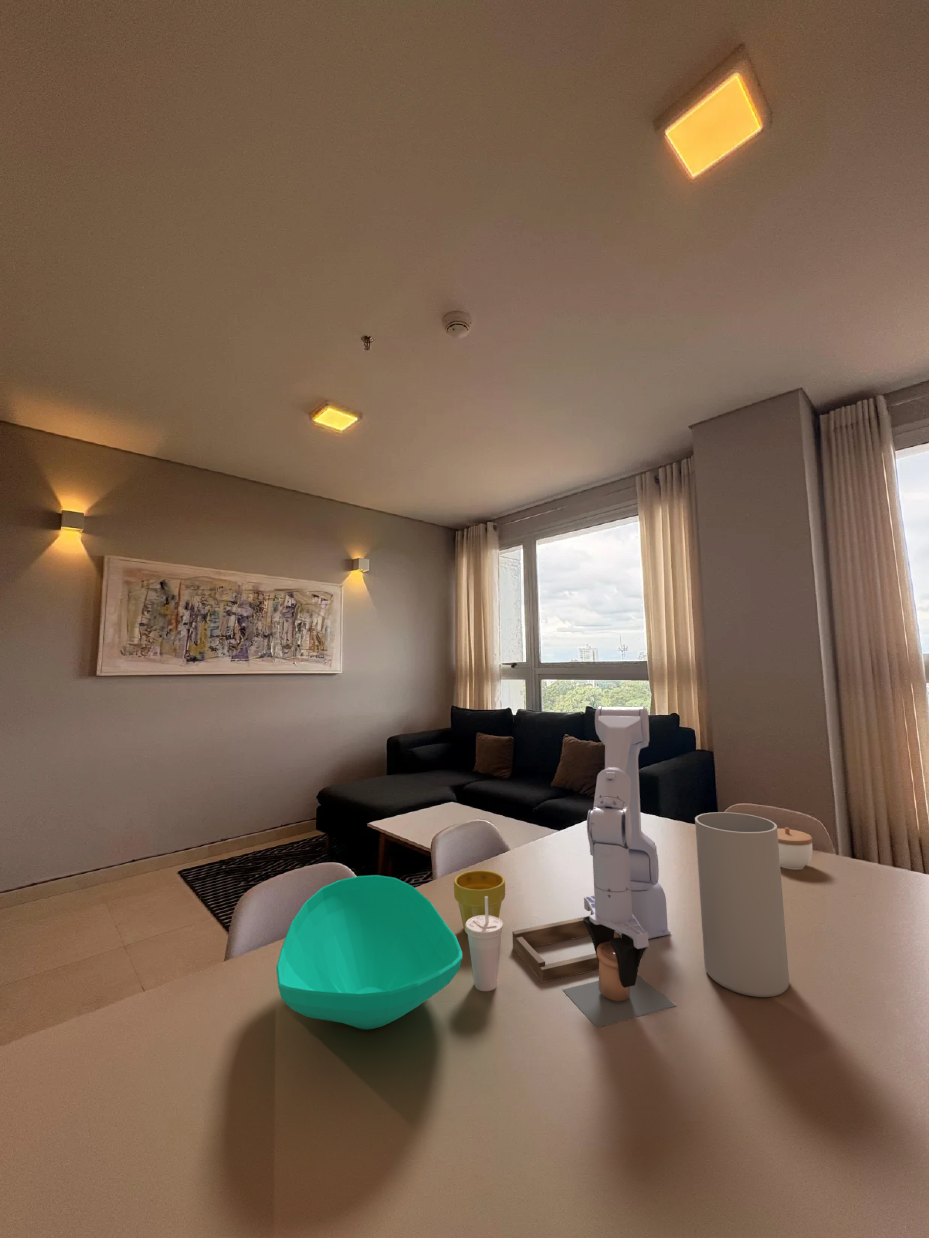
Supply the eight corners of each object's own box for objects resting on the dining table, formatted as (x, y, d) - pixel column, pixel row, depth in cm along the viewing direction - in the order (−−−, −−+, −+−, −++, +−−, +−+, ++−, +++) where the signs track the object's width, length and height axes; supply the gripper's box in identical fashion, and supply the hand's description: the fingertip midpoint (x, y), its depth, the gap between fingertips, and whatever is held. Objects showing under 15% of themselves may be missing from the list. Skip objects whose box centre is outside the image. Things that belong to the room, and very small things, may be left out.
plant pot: (502, 944, 102) (501, 890, 103) (449, 940, 104) (448, 887, 105) (509, 919, 112) (507, 870, 113) (460, 916, 114) (459, 868, 115)
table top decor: (500, 1082, 68) (497, 971, 69) (267, 1143, 60) (268, 1016, 61) (429, 936, 105) (428, 866, 107) (280, 961, 97) (281, 885, 99)
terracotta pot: (618, 975, 89) (619, 939, 89) (639, 998, 83) (641, 959, 83) (588, 982, 87) (589, 945, 87) (609, 1006, 81) (610, 966, 81)
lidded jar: (756, 862, 140) (754, 825, 141) (783, 855, 145) (780, 819, 146) (796, 876, 131) (793, 836, 132) (824, 868, 135) (821, 830, 136)
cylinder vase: (721, 949, 98) (711, 808, 100) (799, 975, 89) (786, 820, 92) (692, 978, 89) (682, 823, 92) (776, 1010, 80) (762, 837, 83)
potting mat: (635, 973, 91) (635, 971, 91) (676, 1007, 82) (676, 1005, 82) (562, 991, 87) (562, 989, 87) (597, 1029, 77) (597, 1027, 77)
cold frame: (595, 930, 106) (595, 914, 106) (633, 960, 95) (632, 942, 95) (512, 948, 100) (512, 931, 100) (542, 982, 89) (542, 963, 89)
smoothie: (493, 1000, 84) (490, 907, 86) (459, 988, 88) (457, 899, 89) (511, 980, 90) (509, 893, 91) (478, 969, 93) (476, 885, 95)
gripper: (567, 873, 92) (570, 957, 90) (617, 907, 78) (622, 1007, 77) (602, 867, 94) (606, 948, 93) (657, 899, 80) (663, 996, 79)
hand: (616, 974), depth 85 cm, fingers closed on terracotta pot, 5 cm apart
